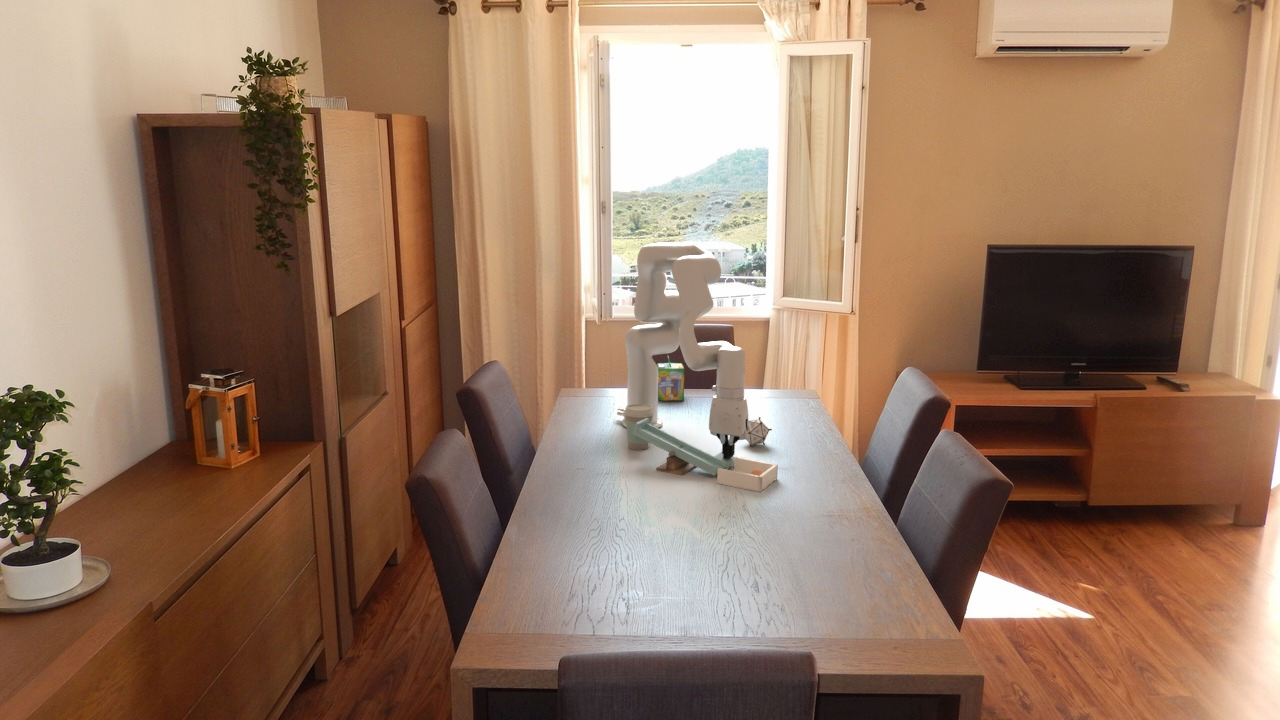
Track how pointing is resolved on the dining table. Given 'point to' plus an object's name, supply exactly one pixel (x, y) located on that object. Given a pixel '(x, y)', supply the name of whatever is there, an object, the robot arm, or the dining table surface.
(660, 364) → the chalk box
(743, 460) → the tray
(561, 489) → the dining table surface
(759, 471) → the ball
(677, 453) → the lever
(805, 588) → the dining table surface
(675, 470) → the fulcrum
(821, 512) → the dining table surface
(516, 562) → the dining table surface
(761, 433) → the game die
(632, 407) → the coffee cup
